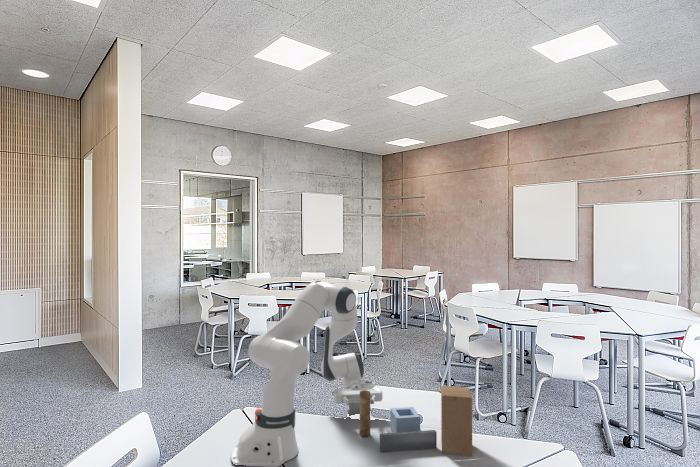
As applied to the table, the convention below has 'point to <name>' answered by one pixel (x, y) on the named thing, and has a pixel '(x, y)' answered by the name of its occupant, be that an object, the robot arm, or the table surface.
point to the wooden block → (456, 420)
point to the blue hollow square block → (404, 420)
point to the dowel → (364, 413)
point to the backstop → (407, 440)
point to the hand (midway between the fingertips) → (360, 402)
